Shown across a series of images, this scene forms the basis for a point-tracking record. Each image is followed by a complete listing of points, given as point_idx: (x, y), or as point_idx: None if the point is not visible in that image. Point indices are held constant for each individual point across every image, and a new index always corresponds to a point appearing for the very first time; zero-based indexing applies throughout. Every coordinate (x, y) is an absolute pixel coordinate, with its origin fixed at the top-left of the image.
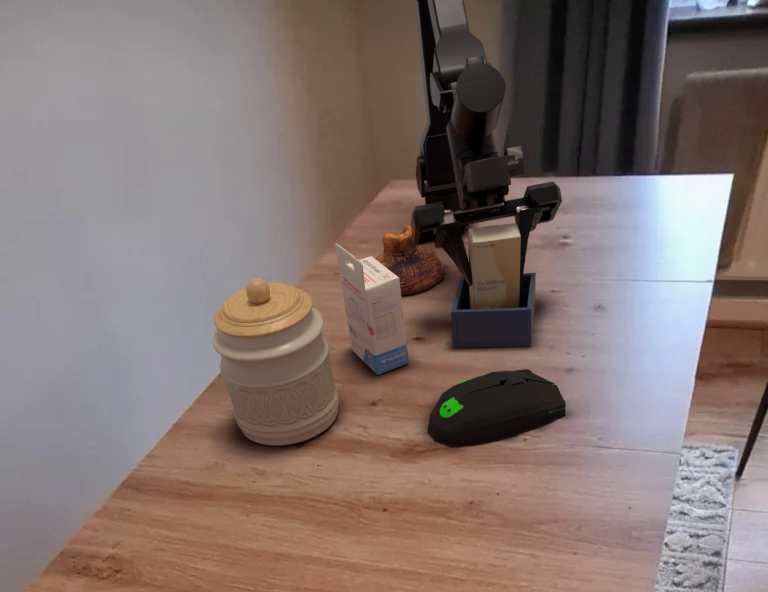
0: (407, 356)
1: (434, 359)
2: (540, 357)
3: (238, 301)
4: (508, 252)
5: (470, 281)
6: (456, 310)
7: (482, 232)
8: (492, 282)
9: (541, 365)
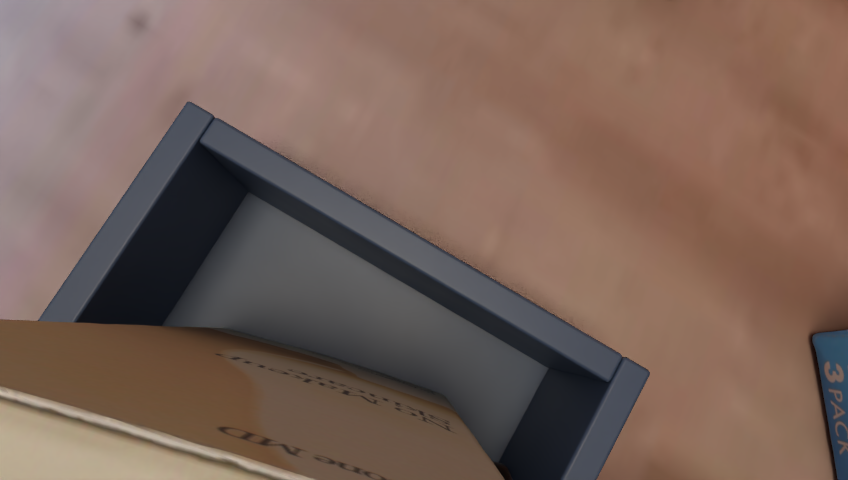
0: (842, 333)
1: (686, 312)
2: (260, 62)
3: None
4: (59, 356)
5: (502, 468)
6: (612, 372)
7: None
8: (323, 384)
9: (290, 3)
